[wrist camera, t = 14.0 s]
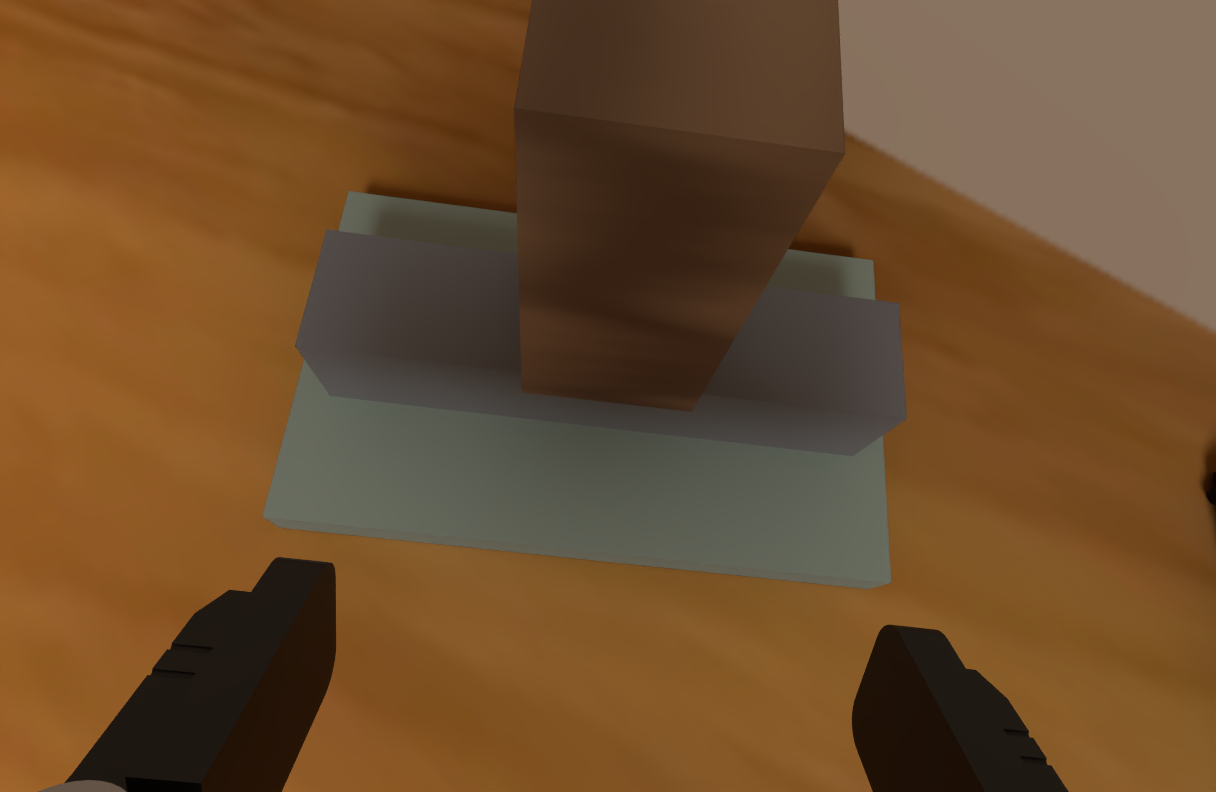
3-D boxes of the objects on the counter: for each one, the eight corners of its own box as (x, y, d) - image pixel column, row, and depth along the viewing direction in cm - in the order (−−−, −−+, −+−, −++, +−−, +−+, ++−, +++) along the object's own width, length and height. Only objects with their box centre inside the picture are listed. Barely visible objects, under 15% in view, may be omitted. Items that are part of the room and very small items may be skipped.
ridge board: (855, 282, 27) (923, 198, 22) (868, 589, 23) (955, 564, 18) (358, 217, 26) (321, 115, 21) (279, 527, 22) (212, 484, 17)
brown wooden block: (697, 265, 21) (834, -74, 11) (691, 411, 19) (845, 152, 10) (541, 245, 20) (551, -119, 11) (521, 392, 19) (514, 107, 10)
